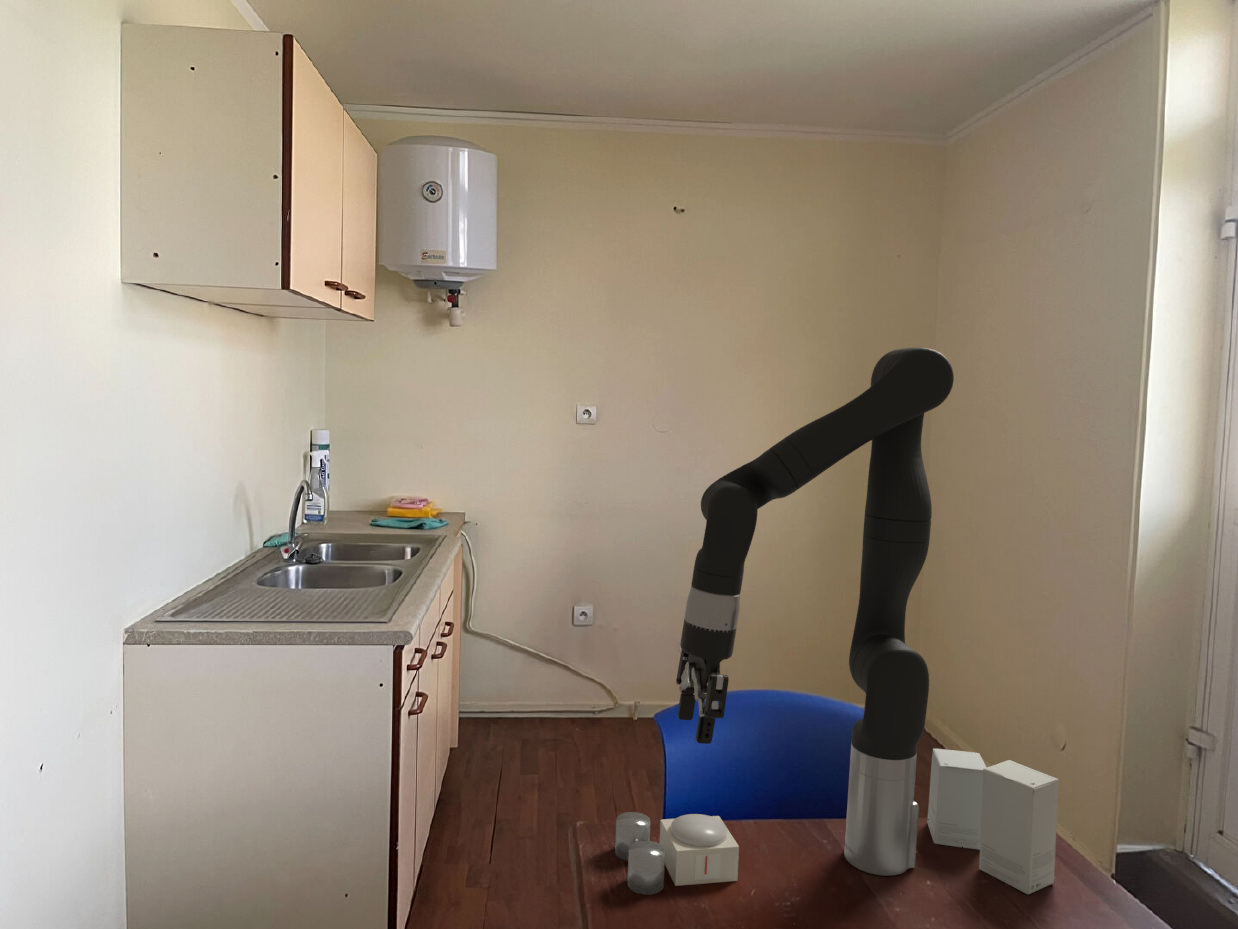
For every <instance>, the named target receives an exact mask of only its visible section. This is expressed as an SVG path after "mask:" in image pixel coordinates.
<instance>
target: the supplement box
mask: <svg viewBox="0 0 1238 929" xmlns="http://www.w3.org/2000/svg"><path fill="white" fill-rule="evenodd" d="M984 768H987V765H986V764H985V762H984V760H983V758H982V756H981V753H979V752H973V751H964V750H963V751H962V750H957V749H956V750H952V749H944V748H932V756H931V767H930V780H929V796H928V809H927V819H929V820H927V822H926V823H927V825H928V828H929V832H930V835H931V838H932V841H933V844H935V845H942V846H950V847H956V848H962V847H963V849H971V850H978V851H980V839H981V814H982V789H983V769H984Z"/></svg>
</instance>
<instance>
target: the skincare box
mask: <svg viewBox="0 0 1238 929" xmlns="http://www.w3.org/2000/svg"><path fill="white" fill-rule="evenodd" d="M986 767H987V766H986ZM1059 781H1060V779H1059V778H1057V777H1054V776H1053V775H1049V774H1046V773H1045V772H1041V771H1039V770H1037V769H1033V768H1031V767H1028V766H1026V765H1023V764H1020V763H1018V762H1016V761H1013V760H1011V759H1008V760H1004V761H1001V762H999V763H996V764H993V765H990V766H988V767H987V768H984V769H983V789H982V814H981V839H980V850H979V864H978V865H979V867H978V868H979V870H980V871H982V872H984V873H985V874H988V875H990V876H992V877H994V879H998V880H999V881H1001V882H1002V883H1004V884H1007V885H1009V886H1010V887H1013V888H1014V889H1016V890H1018V891H1019V892H1022V893H1023V894H1026V895H1030V894H1033V893H1035V892H1037V891H1040V890H1042V889H1044V888H1046V887H1049V886H1050V885H1052V884H1053V883H1055V882H1054V881H1055V868H1056V867H1055V866H1056V864H1055V863H1056V846H1057V845H1056V844H1057V827H1058V826H1057V824H1058V822H1057V821H1058V805H1059V801H1058V800H1059V786H1060V785H1059V783H1060V782H1059Z"/></svg>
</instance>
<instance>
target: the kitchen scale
mask: <svg viewBox="0 0 1238 929" xmlns="http://www.w3.org/2000/svg"><path fill="white" fill-rule="evenodd" d="M659 826H660V827H659V828H660V829H659V844H660V845H662V846H663V847H664V849H665V865H664V866H665V867H666V869H667V872H668V874H669V876H670V877H671V880H672V882H673V884H674V886H675V887H678V886H688V885H689V886H691V885H701V884H713V883H715V884H716V883H726V882H738V876H739V873H738V872H739V856H740V846H739V844H738V843H737V841H736V840H735V838H734V836H733V835H732V833H731V832H730V831H729V829H728V828H727V825H726V824H725V822H724V821H723V820H722V818H721V816H719V815H712V816H711V815H707V814H699V813H689V814H684V815H680V816H677V817H676V818H666V819H663V818H662V819H660V824H659Z"/></svg>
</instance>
